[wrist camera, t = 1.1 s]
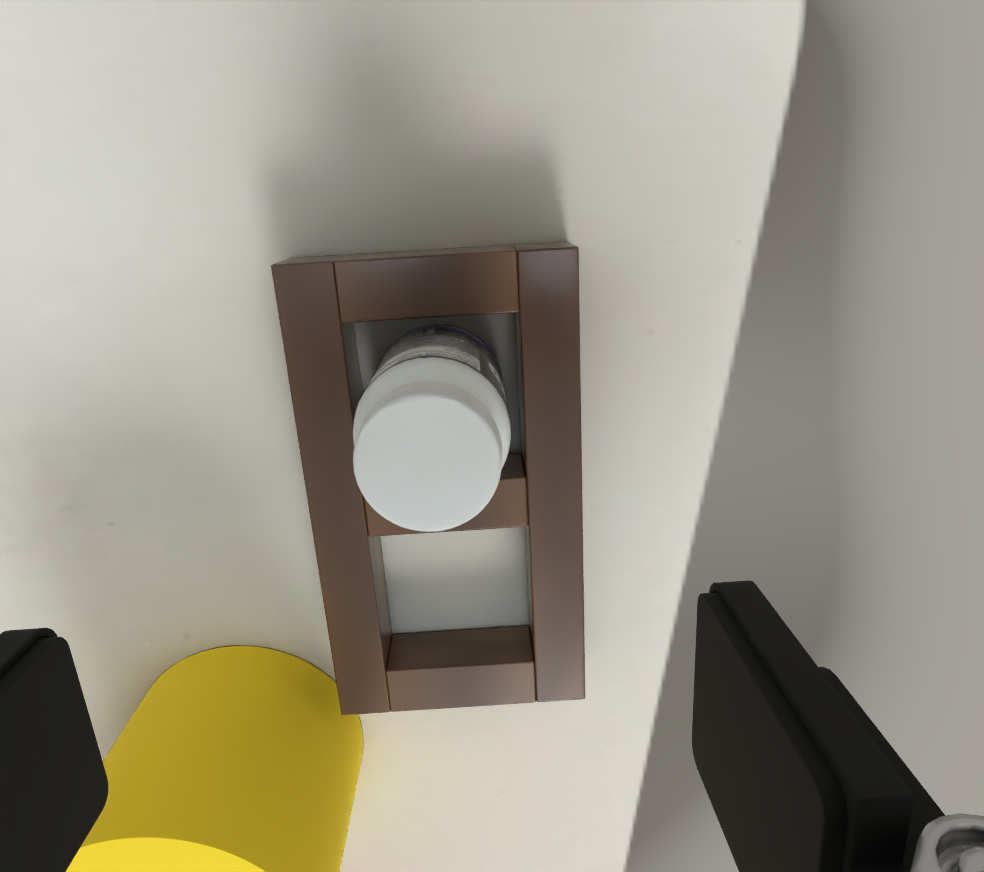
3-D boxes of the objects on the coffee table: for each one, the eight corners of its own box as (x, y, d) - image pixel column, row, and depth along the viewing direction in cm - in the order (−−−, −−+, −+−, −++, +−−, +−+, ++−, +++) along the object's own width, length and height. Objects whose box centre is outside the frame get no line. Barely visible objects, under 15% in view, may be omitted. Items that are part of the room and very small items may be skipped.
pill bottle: (495, 449, 27) (506, 553, 19) (374, 438, 27) (334, 540, 19) (509, 328, 26) (526, 389, 18) (381, 315, 26) (340, 371, 18)
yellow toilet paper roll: (391, 683, 31) (359, 882, 22) (328, 845, 34) (276, 1079, 25) (164, 618, 29) (30, 802, 21) (118, 793, 32) (-15, 1021, 24)
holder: (350, 675, 31) (341, 715, 28) (289, 257, 25) (270, 264, 22) (576, 660, 31) (585, 699, 28) (568, 240, 25) (578, 246, 23)
